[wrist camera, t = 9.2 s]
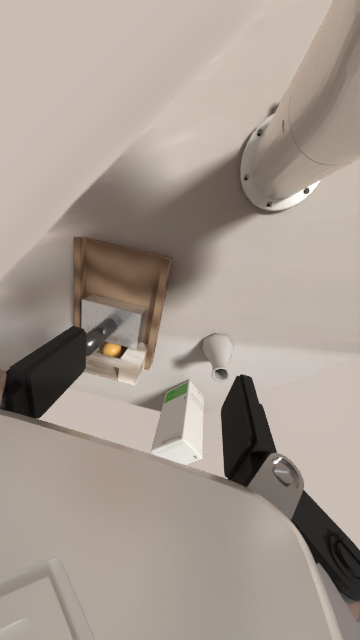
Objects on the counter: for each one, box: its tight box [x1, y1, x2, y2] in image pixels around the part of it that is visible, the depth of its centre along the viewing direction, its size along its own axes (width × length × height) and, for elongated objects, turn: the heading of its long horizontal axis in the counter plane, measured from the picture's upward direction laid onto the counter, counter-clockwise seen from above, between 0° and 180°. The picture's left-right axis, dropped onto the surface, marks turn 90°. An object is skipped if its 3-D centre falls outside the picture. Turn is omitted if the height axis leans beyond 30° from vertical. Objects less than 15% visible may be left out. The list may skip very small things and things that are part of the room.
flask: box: [202, 333, 234, 382], centre depth 38 cm, size 7×7×10 cm
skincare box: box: [151, 380, 204, 465], centre depth 42 cm, size 8×7×16 cm
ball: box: [103, 342, 122, 358], centre depth 43 cm, size 4×4×4 cm
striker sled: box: [81, 294, 147, 357], centre depth 36 cm, size 8×12×13 cm, turn 78°
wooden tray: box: [74, 237, 172, 385], centre depth 37 cm, size 25×18×10 cm
